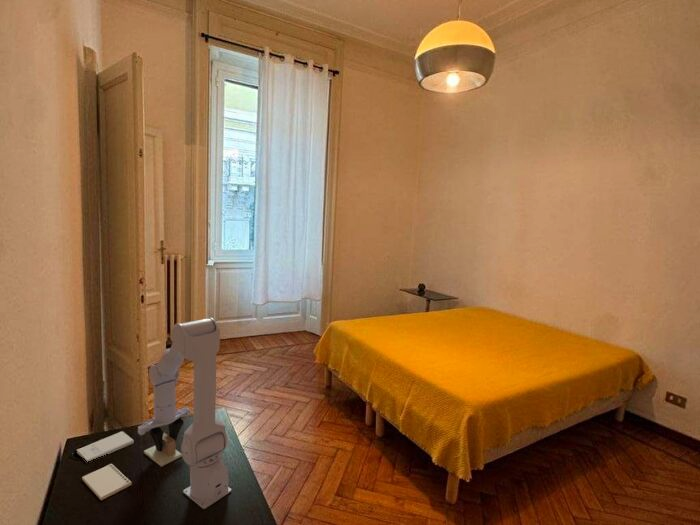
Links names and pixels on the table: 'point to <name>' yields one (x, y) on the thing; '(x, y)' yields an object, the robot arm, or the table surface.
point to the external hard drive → (105, 446)
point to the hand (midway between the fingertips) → (166, 446)
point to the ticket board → (106, 481)
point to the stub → (164, 451)
